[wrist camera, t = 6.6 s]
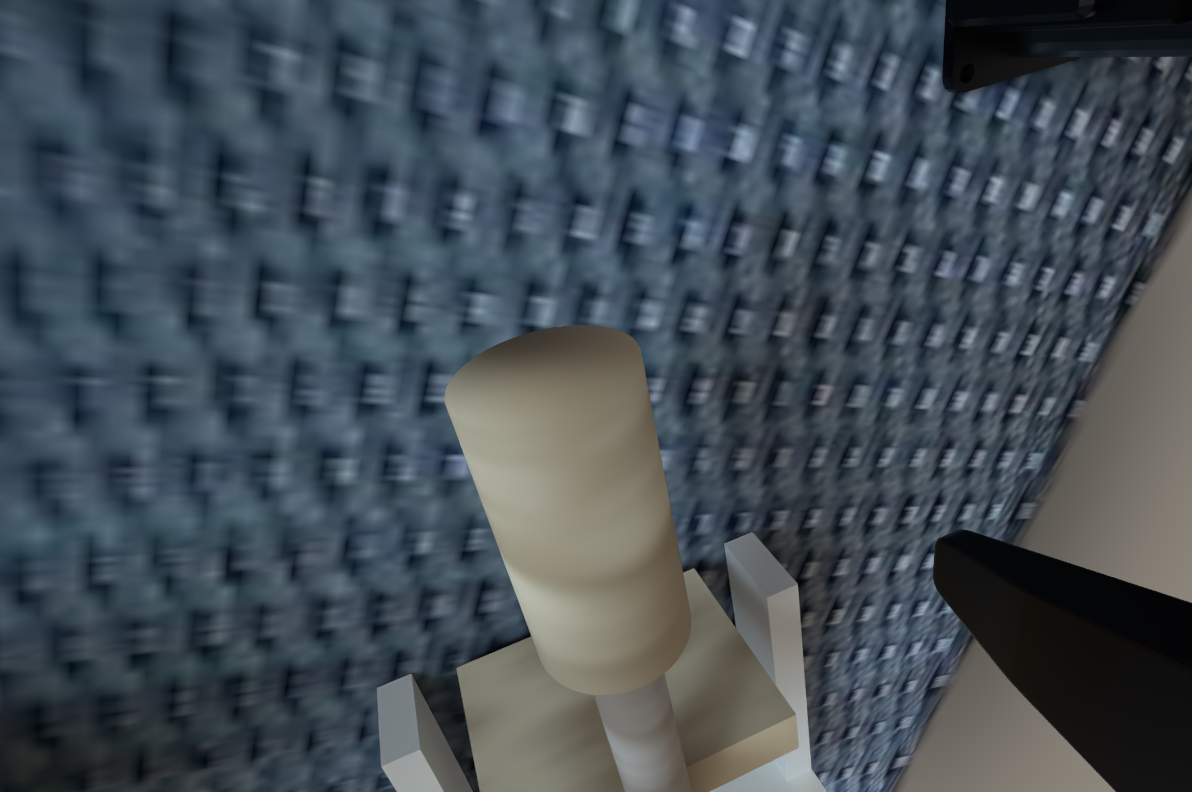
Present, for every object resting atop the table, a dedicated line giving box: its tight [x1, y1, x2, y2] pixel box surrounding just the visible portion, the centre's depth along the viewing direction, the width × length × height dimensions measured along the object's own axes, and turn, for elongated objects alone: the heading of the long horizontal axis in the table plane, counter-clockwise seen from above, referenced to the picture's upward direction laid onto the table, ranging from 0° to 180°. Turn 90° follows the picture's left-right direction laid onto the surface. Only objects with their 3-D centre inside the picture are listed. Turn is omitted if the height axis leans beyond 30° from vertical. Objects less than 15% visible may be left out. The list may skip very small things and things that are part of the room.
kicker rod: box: [444, 325, 799, 792], centre depth 17 cm, size 9×16×10 cm, turn 13°
